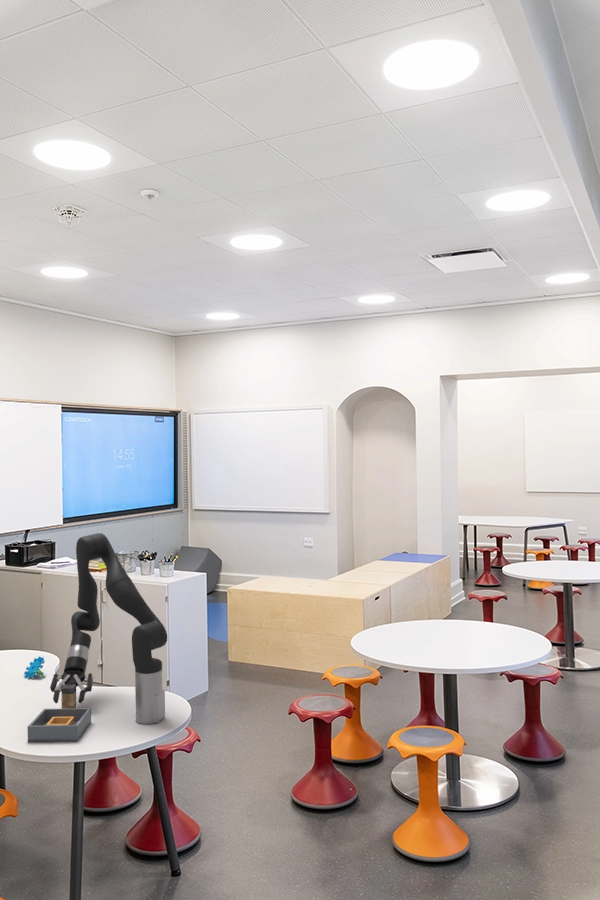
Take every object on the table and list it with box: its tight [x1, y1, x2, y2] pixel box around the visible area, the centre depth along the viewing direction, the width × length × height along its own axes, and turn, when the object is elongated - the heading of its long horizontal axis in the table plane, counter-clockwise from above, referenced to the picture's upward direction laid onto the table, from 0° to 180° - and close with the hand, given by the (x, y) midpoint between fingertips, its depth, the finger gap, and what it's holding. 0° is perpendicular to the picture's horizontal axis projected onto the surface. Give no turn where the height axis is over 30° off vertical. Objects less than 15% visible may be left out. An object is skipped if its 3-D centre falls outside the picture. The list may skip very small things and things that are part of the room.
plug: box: [60, 684, 77, 709], centre depth 262 cm, size 4×4×10 cm
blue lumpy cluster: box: [23, 656, 46, 679], centre depth 307 cm, size 11×6×10 cm
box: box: [27, 707, 92, 743], centre depth 246 cm, size 16×16×5 cm
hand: (67, 702), depth 261 cm, fingers open, 8 cm apart
